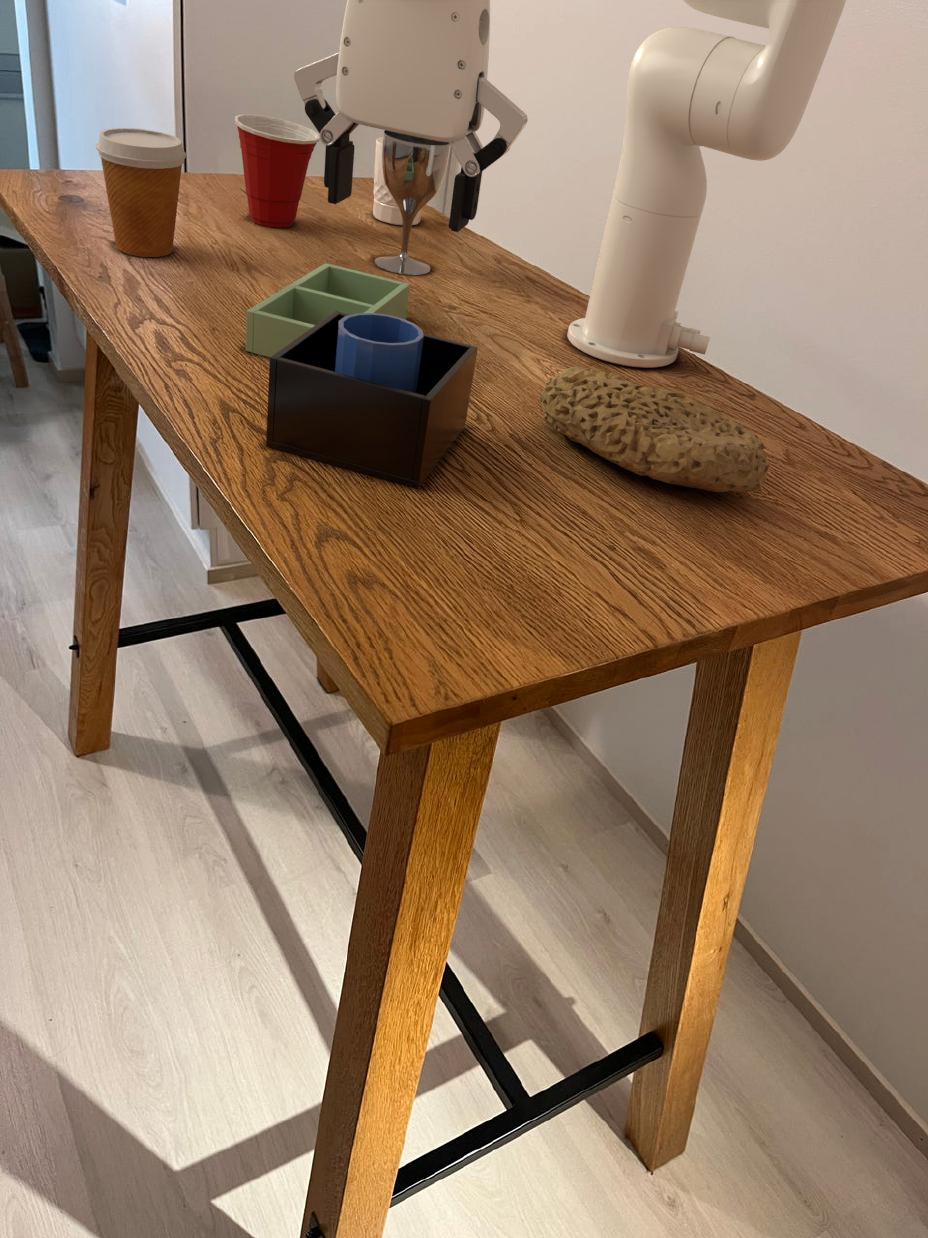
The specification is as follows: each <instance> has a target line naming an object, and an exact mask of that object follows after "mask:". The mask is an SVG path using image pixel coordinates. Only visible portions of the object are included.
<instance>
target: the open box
mask: <svg viewBox="0 0 928 1238" xmlns="http://www.w3.org/2000/svg"><path fill="white" fill-rule="evenodd" d="M348 315H350V314H346V313H341V312H338V311H335V312H333V313H332V314H330V315H329V316H328V317H326V318H325V319H323V320H322V321H321V322H319V323H318V324H316V325H315V326H314V327H312V328H311V329H309V330H308V331H307V332H305V333H304V334H302V335H301V336H300V337H298V338H297V339H295V340H294V341H293V342H291V343H290V344H288V345H287V346H286V347H284V348H283V349H281V350H280V351H279V352H277V353H276V354H274V355H273V356H272V357H269V367H268V368H269V369H268V392H267V412H266V413H267V415H266V416H267V417H266V439H265V447H267V448H271V449H275V450H278V451H282V452H286V453H290V454H292V455H296V456H299V457H303V458H305V459H306V458H307V459H310V460H314V461H317V462H321V463H323V464H324V463H325V464H328V465H332V466H335V467H339V468H342V469H345V470H350V471H354V472H357V473H360V474H364V475H367V476H370V477H371V476H372V477H373V478H378V479H381V480H385V481H389V482H391V483H392V482H393V483H396V484H399V485H403V486H406V487H409V488H413V489H419V488H420V487H421V486H422V484H424V482H425V480H427V478H428V476H429V475H430V474H431V472H432V471H433V470H434V469H435V468H436V466H437V465H438V463H439V462H441V460H442V458H443V457H444V456H445V454H446V453H447V452H448V451H449V449H450V448H451V446H452V445H453V444H454V443H455V441H457V438H458V437H459V436H460V434H461V433H462V432H463V431H464V429H466V421H467V417H468V409H469V404H470V398H471V391H472V385H473V379H474V373H475V368H476V363H477V362H476V361H477V355H478V349H479V347H478V346H474V345H470V344H467V343H463V342H459V341H455V340H451V339H448V338H443V337H439V336H435V335H431V334H427V333H424V332H423V336H424V338H423V345H422V353H421V360H420V368H419V375H418V383H417V391H416V393H413V392H409V391H405V390H401V389H398V388H394V387H390V386H386V385H382V384H379V383H375V382H371V381H367V380H364V379H360V378H356V377H352V376H349V375H345V374H341V373H337V372H335V360H336V348H337V336H338V324H339V320H341V319H342V318H343V317H345V316H348Z"/></svg>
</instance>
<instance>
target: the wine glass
mask: <svg viewBox="0 0 928 1238" xmlns="http://www.w3.org/2000/svg"><path fill="white" fill-rule="evenodd" d="M382 137H383V146H382V168H383V177H384V181H385V184H386V186H387V189H388V190H389V192H390V193H391V195H392V197H393V198H394V200H395V202H396V203H397V205H398V207H399V209H400V212H401V215H402V221H403V225H402V239H401V249H400V253H399V254H398V255H381V256H379V257H378V256H377V257H376V258H375V259H374V261H373V262H374V264H375V265H376V266H377V267H378V268H380V269H382V270H385V271H387V272H392V273H395V274H399V275H406V276H407V275H408V276H409V275H410V276H419V275H425V274H428V273H430V272H431V270H432V269H431V266H430V265H429V264H427V263H426V262H424V261H422V260H419V259H416V258H412V257H410V256H409V254H408V248H409V242H410V241H409V240H410V235H411V230H412V227H413V225H412V223H413V220H414V218H415V216H416V215H417V213H418V212H419V211H420V209H421V208H422V209H423V208H424V207H425V206H426V205H427V204H428V203H429V202H430V201H431V200H432V199H433V198H434V197H435V196H436V195H437V194H438V193H439V190H440V189H441V187H442V185H443V181H444V179H445V176H446V172H447V168H448V164H449V158H450V153H451V152H450V151H451V146H450V144H449V143H448V142H441V141H435V140H430V139H425V138H420V137H415V136H410V135H406V134H401V133H396V132H392V131H387V130H383V136H382Z"/></svg>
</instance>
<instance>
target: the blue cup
mask: <svg viewBox="0 0 928 1238" xmlns="http://www.w3.org/2000/svg"><path fill="white" fill-rule="evenodd" d="M423 333H424V331H423V329H422V328H420V326H419V325H417V324H415V323H414V322H411V321H409V320H407V319H406V320H405V319H402V318H398V317H395V316H391V315H385V314H376V313H357V314H352V315H348V316H345V317H343V318H342V319H341V320H339V324H338V336H337V348H336V360H335V372H337V373H341V374H345V375H349V376H352V377H356V378H360V379H364V380H367V381H371V382H375V383H379V384H382V385H386V386H390V387H394V388H398V389H401V390H405V391H409V392H413V393H416V391H417V383H418V375H419V368H420V360H421V353H422V345H423V338H424V336H423Z"/></svg>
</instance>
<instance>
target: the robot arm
mask: <svg viewBox="0 0 928 1238" xmlns="http://www.w3.org/2000/svg"><path fill="white" fill-rule="evenodd" d="M683 2H684V3H685V4H686V5H687V6H689V7H690V8H691V9H693V10H695V11H698V12H701V13H703V14H706V15H710V16H714V17H718V18H722V19H724V20H730V21H733V22H738V23H742V24H747V25H751V26H756V27H760V28H765V29H768V34H767V39H766V41H765V45H764V44H760V43H756V42H752V41H748V40H743V39H740V38H736V37H734V36H730V35H726V34H721V33H718V32H713V31H708V30H704V29H700V28H695V27H687V26H673V27H672V26H670V27H665V28H661V29H660V30H657V31H654V32H653V33H651V34H650V35H649V36H647V38H645V39H644V40H643V42H641V44H640V45H639V47H638V48H637V50H636V52H635V53H634V56H633V58H632V60H631V63H630V67H629V72H628V76H627V84H626V97H625V100H626V101H625V119H624V131H623V137H622V138H623V140H622V146H621V152H620V159H619V163H618V168H617V173H616V178H615V183H614V186H613V191H612V196H611V201H610V205H609V209H608V213H607V217H606V223H605V227H604V230H603V231H604V232H603V235H602V236H603V237H602V241H601V245H600V250H599V254H598V259H597V263H596V268H595V272H594V276H593V279H592V280H593V281H592V286H591V290H590V294H589V298H588V302H587V307H586V312H585V317H582V318H579V319H575V320H574V321H572V322H570V323H569V326H568V329H567V335H566V336H567V339H568V341H569V342H570V343H571V344H572V345H573V347H575V348H576V349H578V350H579V351H581V352H582V353H584V354H587V355H589V356H591V357H593V358H596V359H598V360H601V361H604V362H608V363H612V364H616V365H620V366H624V367H625V366H626V367H632V368H644V369H645V368H646V369H647V368H649V369H650V368H653V369H654V368H661V367H665V366H668V365H670V364H673V363H674V362H675V361H676V360H677V357H678V353H679V348H681V349H684V350H688V351H690V352H693V353H696V354H700V355H706V352H707V349H708V346H709V342H710V340H711V337H710V336H707V335H705V334H701V332H702V330H701V329H698V328H697V329H696V328H692V327H690V328H689V327H687V326H682V325H681V324H682V323H681V322H677V319H678V316H679V311H678V310H676V308H677V305H678V301H679V297H680V293H681V290H682V286H683V283H684V278H685V275H686V272H687V269H688V264H689V261H690V257H691V254H692V250H693V246H694V243H695V240H696V235H697V232H698V229H699V225H700V222H701V217H702V214H703V212H704V211H703V210H704V207H705V202H706V198H707V191H708V190H707V189H708V186H707V185H708V184H707V183H708V180H707V172H706V167H705V163H704V158H703V155H702V151H701V147H704V148H706V149H707V148H708V149H711V150H714V151H718V152H721V153H726V154H728V155H731V156H735V157H739V158H742V159H746V160H751V161H760V162H761V161H762V162H763V161H768V160H771V159H773V158H776V157H777V156H779V155H780V154H781V153H782V152H783V151H784V150H785V149H786V148H787V147H788V145H789V144H790V142H791V141H792V139H793V138H794V136H795V133H796V131H797V130H798V127H799V125H800V123H801V121H802V119H803V116H804V114H805V111H806V109H807V106H808V104H809V101H810V99H811V96H812V93H813V91H814V87H815V85H816V83H817V80H818V77H819V74H820V71H821V69H822V67H823V64H824V61H825V59H826V56H827V54H828V51H829V47H830V45H831V43H832V39H833V37H834V35H835V32H836V30H837V28H838V27H837V26H838V24H839V21H840V19H841V16H842V13H843V11H844V8H845V5H846V2H847V0H683ZM490 32H491V0H347V1H346V5H345V9H344V17H343V22H342V29H341V35H340V42H339V43H340V44H339V49H338V50H339V51H338V52H337V53H334V54H331V55H330V56H327V57H324V58H323V59H320V60H317V61H315V62H313V63H309V64H308V65H305V66H302V67H299V68H298V69H296V70H295V71H294V73H293V74H294V75H293V77H294V78H293V79H294V82H295V84H296V87H297V90H298V92H299V96H300V98H301V100H302V101H303V104H304V112H305V114H306V116H307V117H308V118H309V121H310V122H311V123H312V125H313V126H314V128H315V129H316V130H317V133H318V134H319V135H320V140H319V141H320V142H321V143H322V144H323V145H325V153H324V174H323V185H324V187H325V188H326V189H327V203H329V204H332V205H337V204H339V203H341V202H343V201H345V200H347V199H348V198H350V197H351V196H352V193H353V179H354V178H353V176H354V163H355V148H356V147H355V144H354V141H353V140H350V138H351V137H350V136H351V134H352V133H353V131H355V130H356V129H357V128H358V126H359V125H361V126H365V127H369V128H374V129H378V130H383V131H385V130H387V131H392V132H396V133H401V134H406V135H410V136H415V137H420V138H425V139H430V140H435V141H441V142H448V143H449V144H450V149H451V150H452V153H454V156H455V157H456V159H457V161H458V163H459V165H460V172H459V173H457V174H455V176H454V181H453V188H452V189H453V190H452V197H451V204H450V213H449V222H448V229H450V231H452V232H455V233H459V232H460V231H461V230H463V229H464V228H466V226H467V225H468V224H469V223H470V221H473V220H474V219H475V218H476V215H477V212H478V205H479V198H480V191H481V184H482V177H483V172H484V171H485V170H486V169H488V168H489V167H490V166H491V165H493V164H494V163H495V162H497V161H498V160H499V159H500V158H502V157H503V156H504V155H506V154H507V153H508V152H509V150H510V149H511V147H512V145H513V144H514V143H515V142H516V140H517V139H518V137H519V135H520V134H521V133H522V131H523V129H524V128H525V127H526V125H527V123H528V120H529V119H528V115H527V114H526V113H525V112H524V111H523V110H522V109H521V108H519V107H520V106H518V105H517V104H515V102H513V101H512V100H510V99H509V98H508V97H507V96H506V95H505V94H504V93H502V91H500V90H499V89H498V88H497V87H496V86H495V85H493V84H492V83H491V82H490V81H489V80H488V75H489V74H488V71H489V58H490V57H489V55H490V40H491V39H490V37H491V34H490ZM335 76H336V78H335V79H336V80H335V81H336V82H335V84H336V85H335V105H336V109H337V112H336V113H335V112H334V110H333V108H332V107H331V105H330V104H329V102H328V101H327V100H326V99H325V97H324V95H323V90H322V83H323V82H324V81H326V80H328V79H330V78H333V77H335ZM485 109H486V110H487V111H488V112H489V113H490V114H491V115H492V116H494V118H496V119H497V120H498V121H499V129H498V130H497V132H496V134H495V135H494V137H493V139H492V140H491V141H490V142H488V143H487V144H486V145H484V146H483V144H482V142H481V140H480V139H479V136H478V134H477V133H476V132H477V131H478V130H479V129H480V128H481V126H482V124H483V119H484V116H485V115H484V114H485Z"/></svg>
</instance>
